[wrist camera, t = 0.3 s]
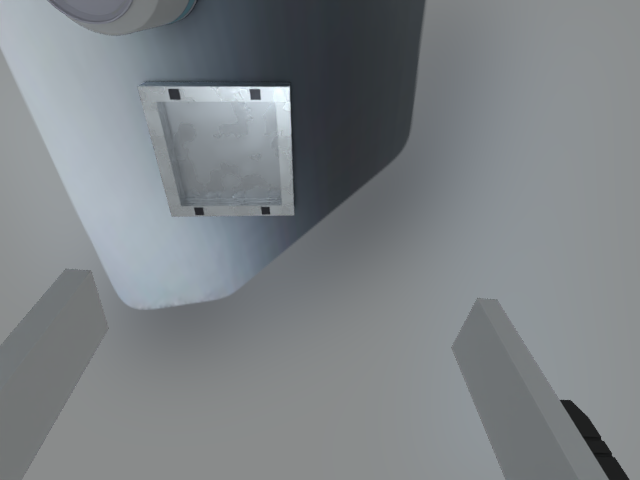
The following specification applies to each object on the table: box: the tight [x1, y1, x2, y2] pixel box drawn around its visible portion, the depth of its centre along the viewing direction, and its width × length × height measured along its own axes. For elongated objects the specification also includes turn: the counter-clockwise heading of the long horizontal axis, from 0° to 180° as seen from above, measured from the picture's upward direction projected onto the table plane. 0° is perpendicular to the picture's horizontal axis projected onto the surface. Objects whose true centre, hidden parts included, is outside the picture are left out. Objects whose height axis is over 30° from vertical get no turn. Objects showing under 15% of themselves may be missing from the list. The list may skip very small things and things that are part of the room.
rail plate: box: [137, 82, 294, 217], centre depth 35 cm, size 13×13×2 cm
